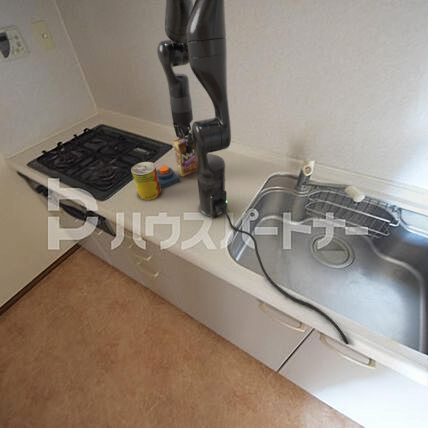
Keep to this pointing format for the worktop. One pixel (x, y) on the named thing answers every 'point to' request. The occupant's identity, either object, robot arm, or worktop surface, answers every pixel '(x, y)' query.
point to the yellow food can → (146, 180)
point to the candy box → (184, 158)
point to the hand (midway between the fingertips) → (186, 150)
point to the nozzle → (164, 170)
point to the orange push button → (167, 178)
